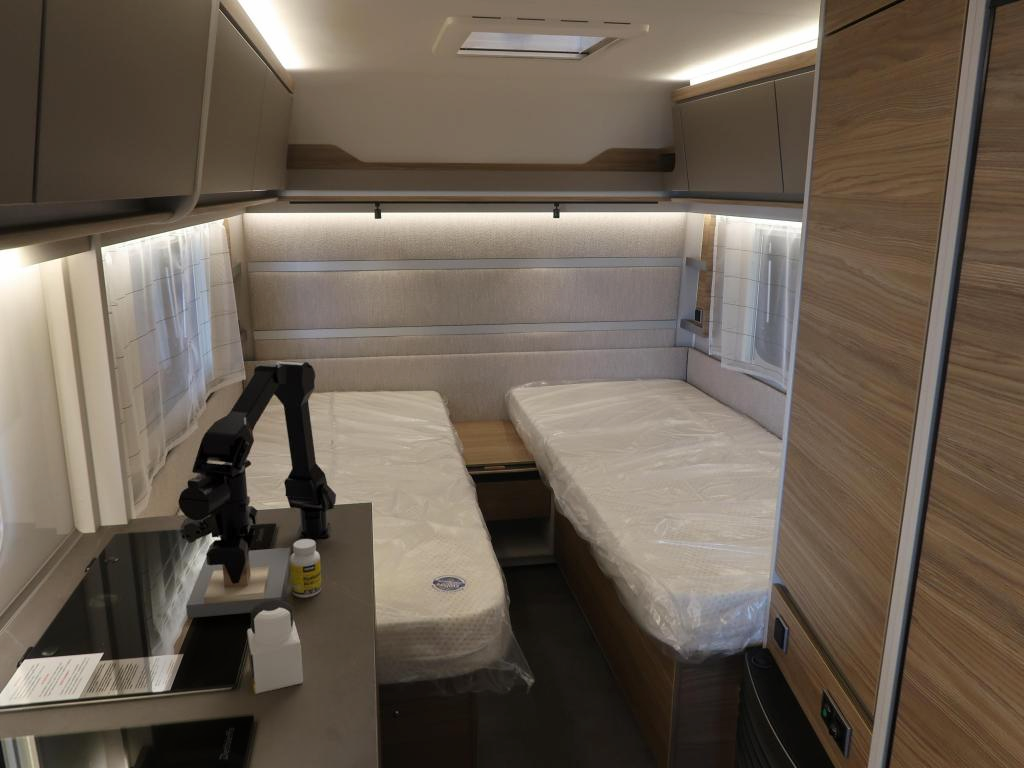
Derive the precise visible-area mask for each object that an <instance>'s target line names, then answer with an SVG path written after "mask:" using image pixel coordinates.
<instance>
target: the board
mask: <svg viewBox="0 0 1024 768" xmlns="http://www.w3.org/2000/svg"><path fill="white" fill-rule="evenodd" d="M291 555H292V551H291V547H283V548H282V547H280V548H279V547H278V548H267V549H255V550H253V549H252V550H249V561H250V568H254V567H267V566H269V570H270V573H269V577H268V581H267V586H266V590H265V594H264V599H253V600H242V601H230V602H219V603H207V604H204V595H205V593H206V590H207V587H208V585H209V582H210V580H211V577H212V574H213V572H214V571H216V570H223V566H222V565H208V564H207V557H206V556H205V558H204V562H203V564H202V565H201V569H200V571H199V574H198V576H197V578H196V580H195V583H194V585H193V588H192V591H191V593H190V595H189V598H188V599H187V602H186V605H185V607H186V614H187V615H186V616H187V619H193V618H204V617H205V618H206V617H215V616H225V615H226V616H227V615H238V614H248V613H249V614H251V611H252V610H253V608H254V607H255V606H257V605H258V604H260V603H263V602H266V601H270V600H282V601H285V597H286V590H287V589H286V588H287V584H288V579H289V575H290V569H291V568H290V558H291Z"/></svg>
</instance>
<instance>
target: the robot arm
mask: <svg viewBox="0 0 1024 768" xmlns="http://www.w3.org/2000/svg"><path fill="white" fill-rule="evenodd" d="M315 379H316V372H315V369H314V367H313V365H311V364H310V363H309V362H306V361H295V360H294V361H293V360H277V361H276V362H275V363H270V362H261V363H258V364H256V365H255V368H254V370H253V375H252V377H251V378H250V380H249V382H248V383H247V384H246V386H245V388H244V390H243V391H242V392H241V394H240V395H239V397H238V399H237V400H236V402H235V404H234V405H233V407H232V408H231V410H230V411H229V412H228V413H227V415H225V416H224V417H221V418H220V419H218V420H216V421H214V423H213V424H212V425H211V426H210V427H209V428H208V429H207V430H206V432H205V433H204V434H203V437H202V439H201V441H200V444H199V448H198V450H197V453H196V457H195V461H194V464H193V467H192V473H193V474H199V475H198V476H195V477H193V478H192V477H191V478H190V479H188V480H187V488H185V489H183V490H182V491H181V493H180V495H179V498H178V506H179V509H180V511H181V512H182V514H183V515H185V517H186V518H185V519H184V520H183V522H182V523H181V525H180V526H179V527H180V533H181V536H180V537H181V538H182V540H186V542H187V543H188V544H191V543H195V541H197V540H200V539H201V538H204V537H207V536H209V535H210V534H211V538H220V539H216V540H215V539H214V540H213V542H212V543H211V544H209V546H208V549H207V551H206V554H205V558H206V557H207V564H208V565H222V564H224V565H225V567H226V570H227V572H228V574H229V577H230V579H231V581H232V583H233V584H235V583H239V580H240V577H241V574H242V571H243V568H244V565H245V562H246V559H247V556H248V553H249V551H251V550H250V548H251V545H252V542H253V539H254V535H255V532H256V528H254V527H251V526H253V525H254V526H256V525H257V524H258V522H259V521H258V520H259V515H258V509H256V508H255V507H254V506H252V505H250V502H251V499H250V498H251V497H250V496H249V495H248V488H247V486H248V485H247V474H246V473H247V472H246V469H247V468H249V467H250V466H251V465H252V462H251V461H250V460H248V456H249V455H250V453H251V450H252V447H253V445H254V442H255V439H254V432H253V431H254V429H255V427H256V425H257V423H258V421H259V419H260V418H261V417H262V414H264V411H265V409H266V408H267V406H268V404H269V403H270V401H271V399H272V398H273V396H275V397H276V398H277V399H278V401H279V402H280V403H281V404H282V405H283V410H284V418H285V424H286V426H285V427H286V432H287V439H288V445H289V454H290V461H291V471H290V472H289V474H288V476H287V478H286V479H285V480H284V482H283V483H284V488H285V497H286V498H287V501H288V505H289V508H290V509H299V518H300V519H299V520H300V521H299V522H300V525H299V529H298V535H297V538H298V540H302V539H317V538H318V539H319V538H329V537H330V530H331V523H330V522H328V511H329V510H333V509H334V508H335V504H336V502H337V494H336V493H335V492H334V490H333V489H332V488H331V487H330V486H329V485H328V481H327V477H326V474H325V472H324V471H323V469H322V468H320V466H319V465H318V464H317V462H316V461H317V460H316V455H315V446H314V438H313V429H312V421H311V413H310V406H309V405H310V404H309V400H310V398H311V395H312V394H313V392H314V390H315ZM208 461H210V462H208ZM212 462H217V463H212ZM218 462H220V463H221V464H220V463H218ZM249 505H250V506H249Z"/></svg>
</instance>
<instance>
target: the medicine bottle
mask: <svg viewBox="0 0 1024 768" xmlns="http://www.w3.org/2000/svg"><path fill="white" fill-rule="evenodd" d="M250 622H251V623H250V625H251V626H250V627H251V628H248V629H247V630H246V635H247V645H248V656H249V667H250V673H251V674H250V675H251V681H252V686H253V692H254V694H261V693H265V692H270V691H273V690H279V689H283V688H287V687H292V686H296V685H300V684H302V683H303V681H304V677H303V661H302V660H303V659H302V648H301V640H300V637H299V634H298V630H297V627H296V624H295V621H294V618H293V607H292V605H291V603H289V602H287V601H285V600H284V601H282V600H270V601H266V602H263V603H260V604H258V605H257V606H255V607H254V608H253V610H252V611H251V613H250Z"/></svg>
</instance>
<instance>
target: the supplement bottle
mask: <svg viewBox="0 0 1024 768" xmlns="http://www.w3.org/2000/svg"><path fill="white" fill-rule="evenodd" d="M292 548H293V553H291V558H290V568H289V569H290V582H291V583H290V584H291V585H290V586H291V592H292V595H293V596H295V597H297V598H303V599H304V598H311V597H314V596H316V595H318V594H319V593H320V592H321V591H322V573H321V572H322V571H321V567H322V566H321V556H320V555H321V554H320V553H319V552H318V551H317V550H316V549H317V547H316V541H315V540H313V539H312V538H306V539H298V540H296V541H295V542H294V543H293V547H292Z"/></svg>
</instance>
